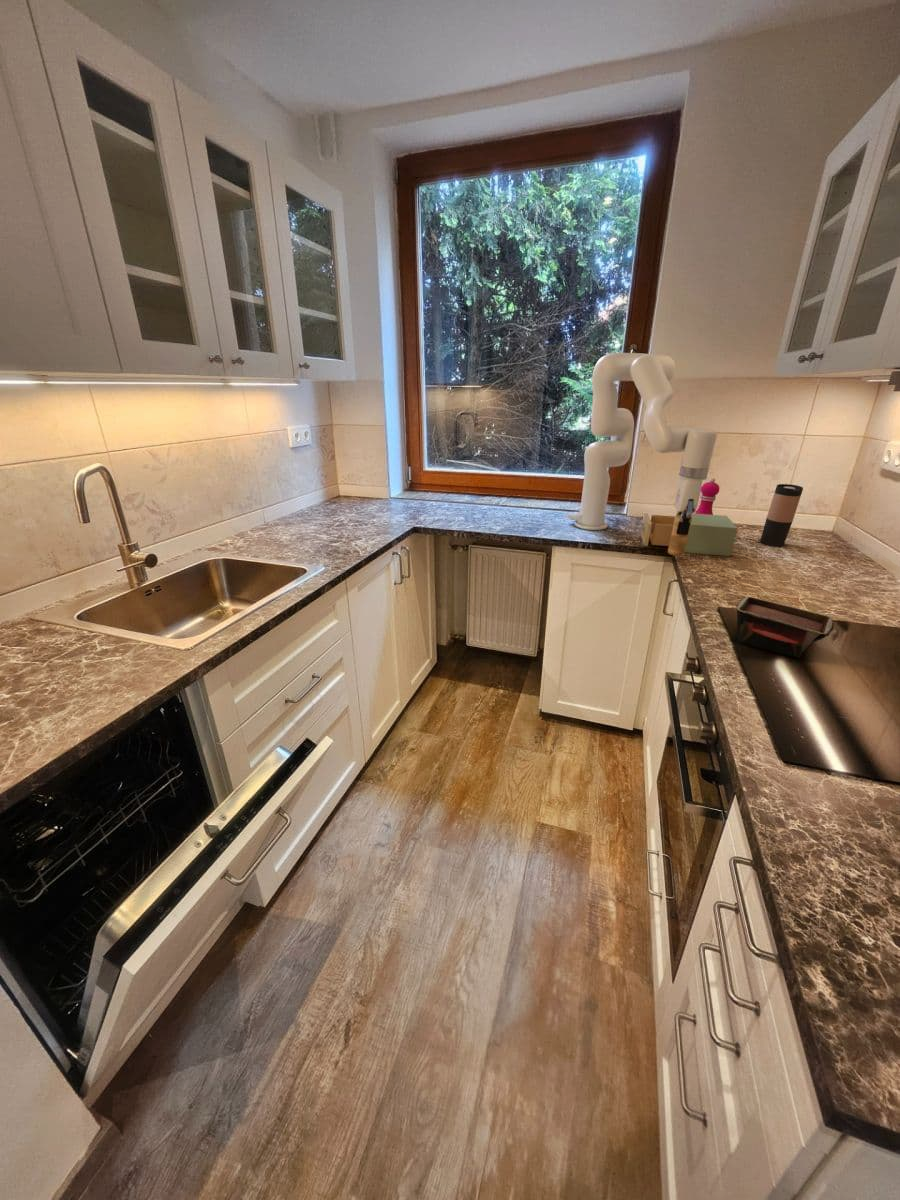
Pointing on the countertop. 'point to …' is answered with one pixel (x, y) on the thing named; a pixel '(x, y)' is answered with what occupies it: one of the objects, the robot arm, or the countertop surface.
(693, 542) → the cabinet
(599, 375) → the robot arm
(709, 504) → the pepper mill
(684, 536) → the cork textured cylinder
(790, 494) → the travel mug
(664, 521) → the drawer
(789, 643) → the baking dish
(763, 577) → the countertop surface
